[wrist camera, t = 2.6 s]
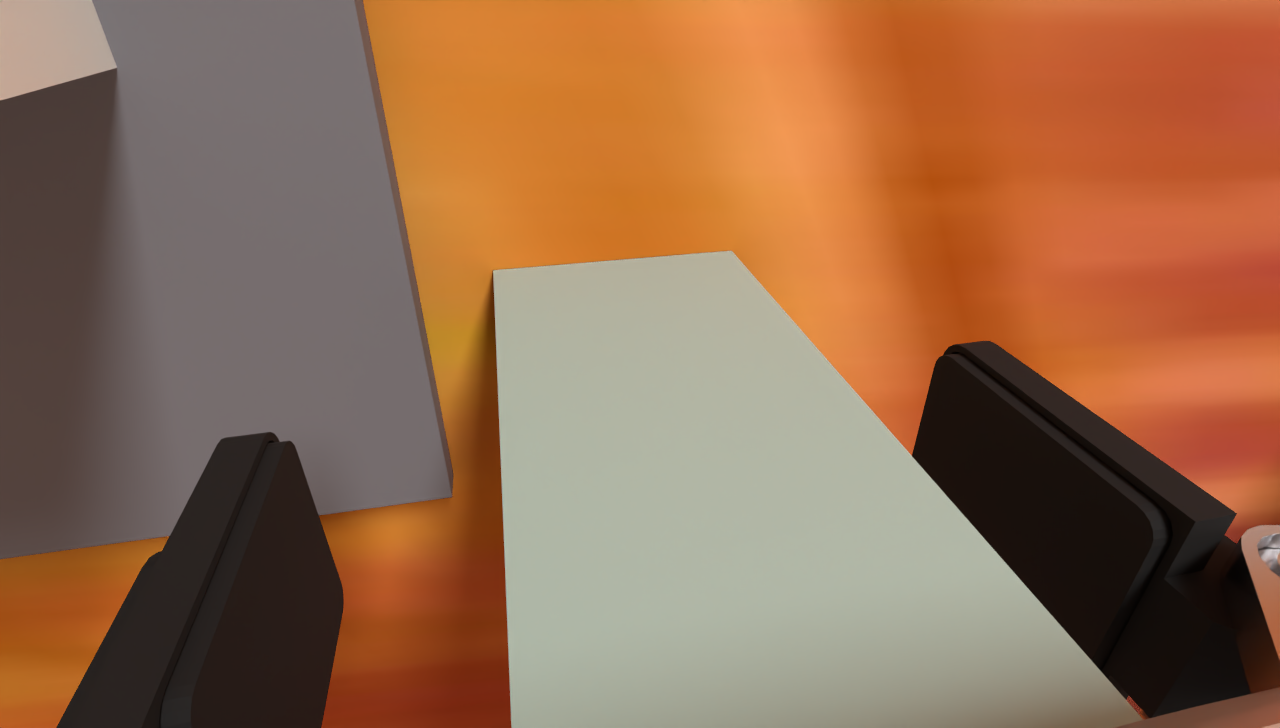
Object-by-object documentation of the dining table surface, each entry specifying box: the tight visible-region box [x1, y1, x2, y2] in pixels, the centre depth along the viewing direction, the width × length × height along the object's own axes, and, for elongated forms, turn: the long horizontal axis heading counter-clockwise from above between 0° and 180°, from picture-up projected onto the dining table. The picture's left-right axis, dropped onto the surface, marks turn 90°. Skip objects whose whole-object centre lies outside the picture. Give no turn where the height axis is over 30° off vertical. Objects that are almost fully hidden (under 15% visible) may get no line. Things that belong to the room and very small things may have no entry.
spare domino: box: [493, 251, 1143, 728], centre depth 9 cm, size 2×5×12 cm, turn 91°
